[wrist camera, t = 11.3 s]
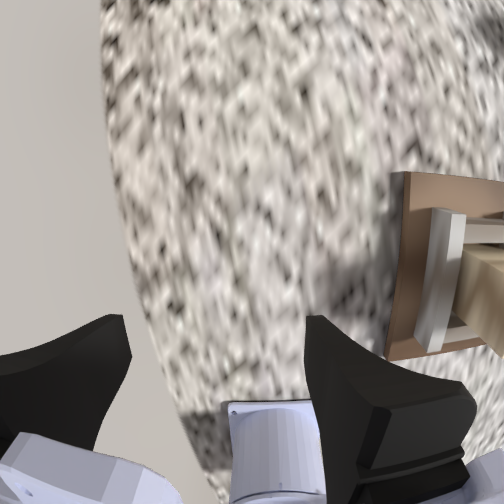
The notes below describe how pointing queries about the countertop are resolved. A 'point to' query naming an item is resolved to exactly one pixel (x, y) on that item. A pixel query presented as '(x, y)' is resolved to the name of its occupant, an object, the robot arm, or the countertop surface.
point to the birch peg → (482, 293)
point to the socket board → (438, 260)
